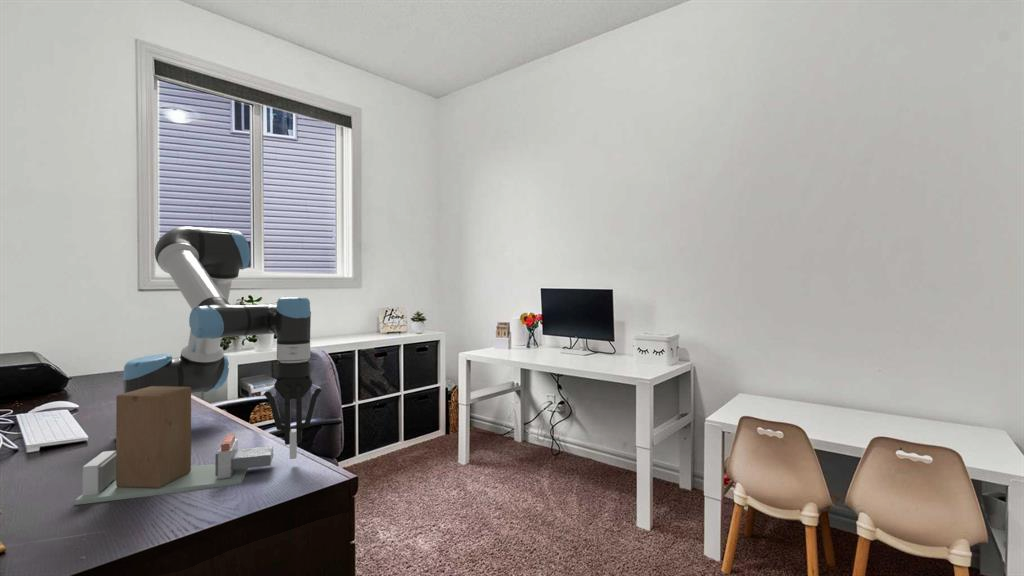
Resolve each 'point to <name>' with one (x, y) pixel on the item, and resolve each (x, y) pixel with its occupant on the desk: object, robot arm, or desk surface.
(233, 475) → the vise bed
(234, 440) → the free jaw
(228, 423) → the desk surface
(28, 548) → the desk surface
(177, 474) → the wooden block
